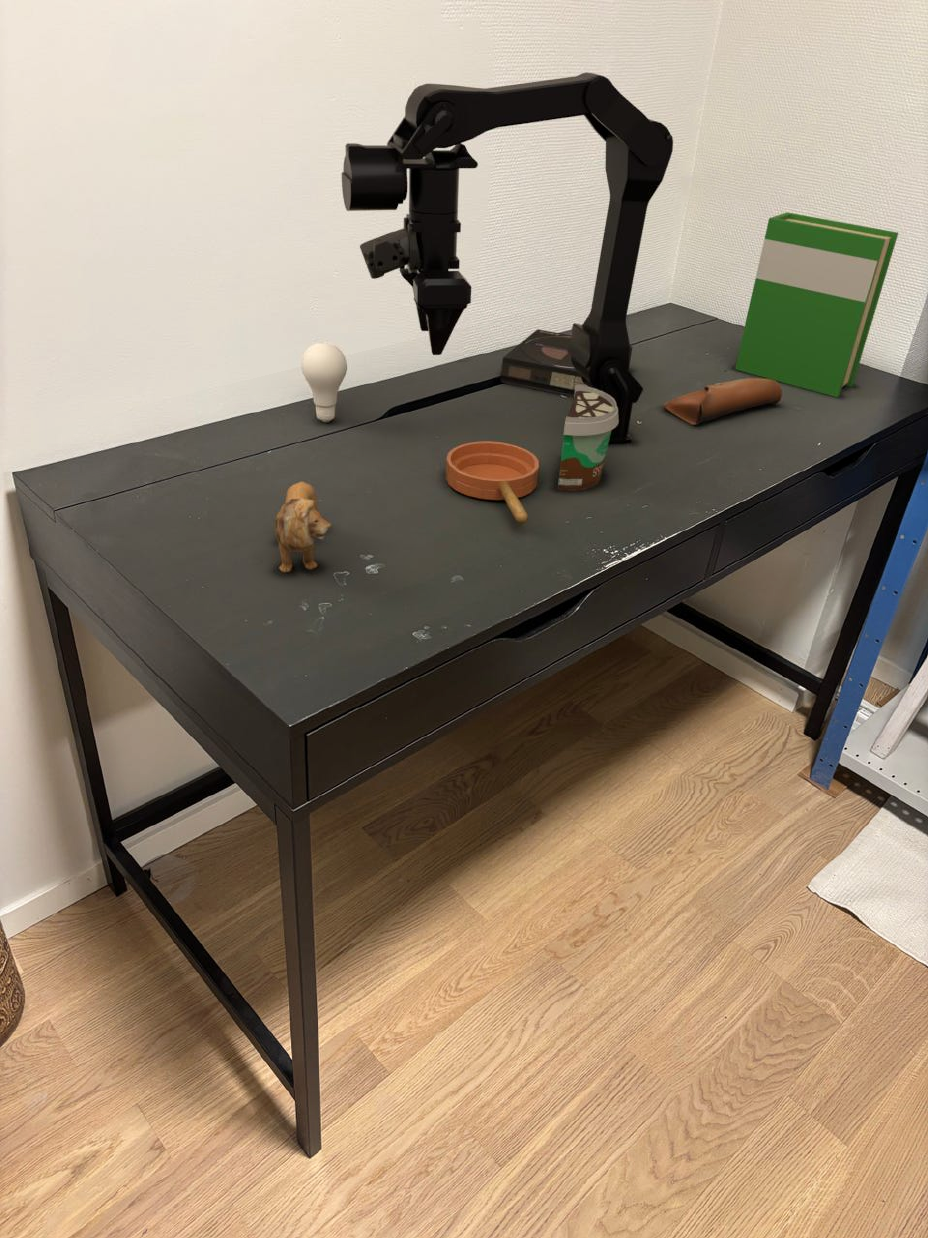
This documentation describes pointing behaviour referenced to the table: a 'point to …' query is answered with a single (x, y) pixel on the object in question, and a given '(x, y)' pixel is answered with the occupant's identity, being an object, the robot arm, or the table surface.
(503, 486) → the pan handle
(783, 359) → the hardback book
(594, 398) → the food container
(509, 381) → the portable cd player
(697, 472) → the table surface
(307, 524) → the lion figurine
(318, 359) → the lightbulb
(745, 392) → the sunglasses case
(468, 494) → the pan
